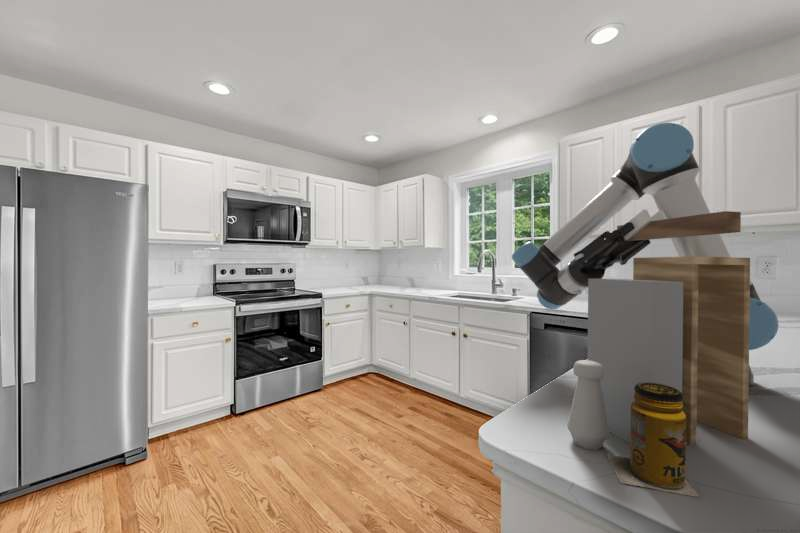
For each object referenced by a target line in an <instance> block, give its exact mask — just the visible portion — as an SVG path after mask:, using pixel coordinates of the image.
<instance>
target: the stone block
mask: <svg viewBox="0 0 800 533" xmlns="http://www.w3.org/2000/svg"><path fill="white" fill-rule="evenodd" d="M587 289H588V291H587V292H588V293H587V298H588V299H587V355H586V356H587V359H586V360H590V361H594V362H597V363H600V364H601V365H602V366H603V368H604V376H603V378H602V379H600V385H601V390H602V396H603V401H604V407H605V412H606V418H607V423H608V429H609V432H611V433H612V434H615V436H618V437H619V438H621V439H623V440H624V441H627V442H628V443H630V442H631V404H632V403H633V402H634V401H635V399H634V394H635V390H634V387H635V385H637V384H638V383H657V384H662V385H666V386H670V387H673V388H675V389H678V390H679V391H680V392H681V393H682V352H683V282H678V281H655V280H633V278H632V279H629V278H628V279H627V278H602V279H588V288H587Z"/></svg>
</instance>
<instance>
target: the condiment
mask: <svg viewBox="0 0 800 533" xmlns="http://www.w3.org/2000/svg"><path fill="white" fill-rule="evenodd" d="M634 390H635V394H634V399H635V401H634V402H633V403H632V404H631V442H629V444H630V446H629V447H630V454H629V455H630V457H628V456H620V455H617V454H610V453H607V454H606V456H607V458H608V460H609V462H610V464H611V467H612V469H613V471H614V473H615V474H616V476H617V479H618V480H619V482H620V484H624V485H625V484H626V485H627V484H628V485H630V486H636V487H637V486H639V487H641V488H650V489H653V490H658V491H661V492H667V493H673V494H679V495H684V496H685V495H686V496H691V497H700V494H698V493H697V491H696V490H695V489H694V488H693V487H692V485H690V483H689V482H688V481H687V480H686V466H687V463H686V460H687V458H686V456H687V455H686V452H687V451H686V450H687V448H686V446H687V443H686V415H685V413H684V412H683V411H682V408H683V404H682V398H683V396H682V393H681V392H680V391H679V390H678V389H675V388H673V387H670V386H666V385H662V384H657V383H638V384H637V385H635V387H634Z"/></svg>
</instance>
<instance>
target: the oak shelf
mask: <svg viewBox="0 0 800 533" xmlns="http://www.w3.org/2000/svg"><path fill="white" fill-rule="evenodd" d="M632 264H633V269H632V273H633V274H632V275H633V277H632V280H655V281H678V282H683V352H682V396H683V398H682V404H683V408H682V411H683V412H684V413H685V415H686V444H688V445H689V446H692V445H697V430H698V428H697V422H698V421H699V422H701V423H703V424H705V425H708V426H711V427H713V428H716V429H718V430H720V431H723V432H725V433H728V434H730V435H733V436H734V437H737V438H740V439H742V440H743V439H749V398H750V397H749V396H750V394H749V393H750V392H749V390H750V388H749V387H750V386H749V365H750V350H749V315H750V281H751V258H750V257H736V256H735V257H733V256H732V257H731V256H730V257H695V256H690V257H679V256H659V257H658V256H656V257H655V256H653V257H633V263H632Z"/></svg>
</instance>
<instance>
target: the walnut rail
mask: <svg viewBox="0 0 800 533" xmlns="http://www.w3.org/2000/svg"><path fill="white" fill-rule="evenodd" d="M741 213H742V211H729V210H728V211H727V210H724V211H716V212H710V213H708V214H701V215H694V216H686V217H679V218H672V219H664V220H657V221H652V222H650V223H649V224H648V225H646V226H645V227H644V228H642V229H641V230H640V231H639V232H637V233H636V234H635V235H633V236H632V237H631V238H629V239H628V240H625V239H624V237H623V240H624V241H638V240H659V239H671V238H675V237H687V236H699V235H712V234H720V235H721V234H735V233H741V232H742V230H741V227H742V226H741V222H742V221H741V220H742V219H741V216H742V214H741ZM623 225H624V224H621V225H617V226H616V230H618V229H620V228H621V227H622V226H623Z"/></svg>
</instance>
